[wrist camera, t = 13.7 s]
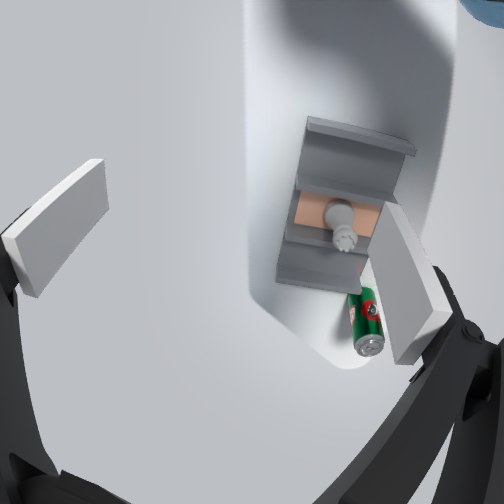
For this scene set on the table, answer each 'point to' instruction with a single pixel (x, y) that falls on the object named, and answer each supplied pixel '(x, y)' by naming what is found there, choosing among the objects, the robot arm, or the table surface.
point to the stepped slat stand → (331, 189)
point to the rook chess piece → (341, 224)
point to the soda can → (366, 323)
